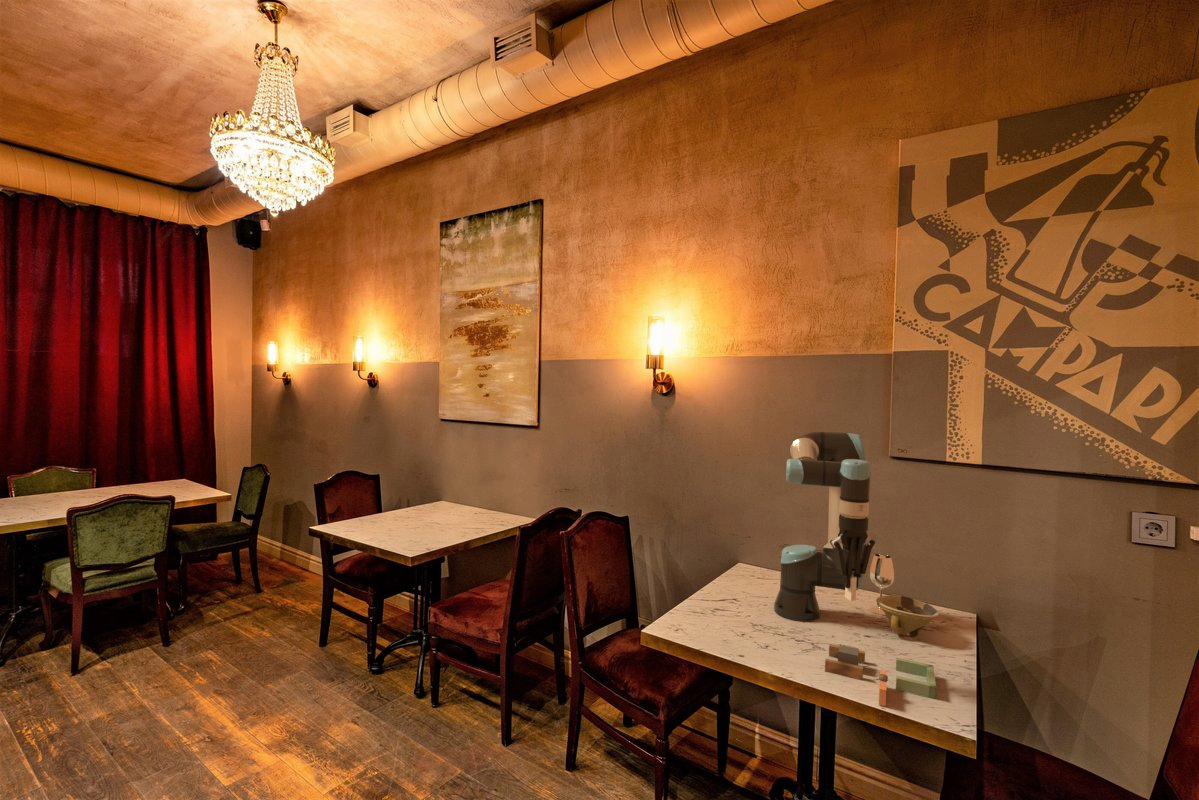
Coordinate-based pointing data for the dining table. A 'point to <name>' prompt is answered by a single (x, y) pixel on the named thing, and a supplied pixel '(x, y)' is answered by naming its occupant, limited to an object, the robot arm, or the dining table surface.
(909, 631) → the bowl
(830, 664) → the clip rails
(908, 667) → the bracket
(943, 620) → the dining table surface
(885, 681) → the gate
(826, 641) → the dining table surface
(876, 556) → the wineglass
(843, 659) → the block
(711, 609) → the dining table surface
